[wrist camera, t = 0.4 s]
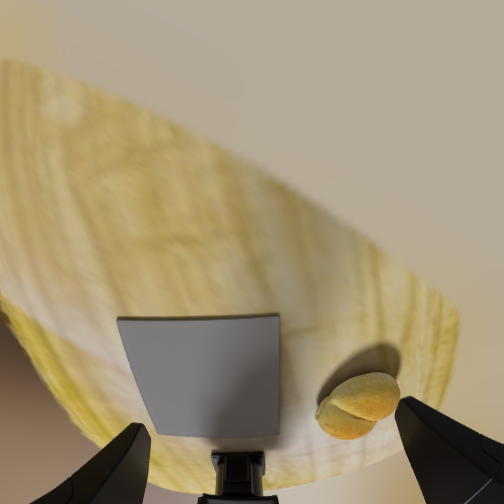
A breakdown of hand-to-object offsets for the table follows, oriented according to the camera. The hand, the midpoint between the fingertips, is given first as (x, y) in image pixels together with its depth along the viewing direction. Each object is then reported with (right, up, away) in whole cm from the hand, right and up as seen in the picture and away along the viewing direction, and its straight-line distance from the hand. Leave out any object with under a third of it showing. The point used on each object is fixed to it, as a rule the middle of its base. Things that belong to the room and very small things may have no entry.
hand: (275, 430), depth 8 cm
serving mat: (-5, -7, +16) cm, 19 cm away
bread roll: (+10, -6, +17) cm, 21 cm away
